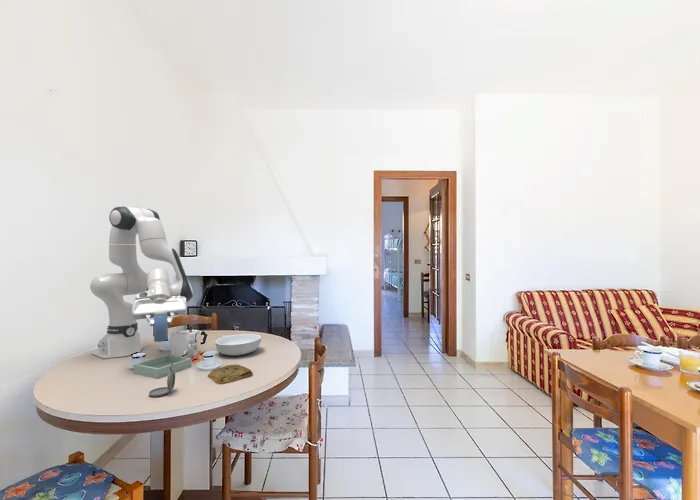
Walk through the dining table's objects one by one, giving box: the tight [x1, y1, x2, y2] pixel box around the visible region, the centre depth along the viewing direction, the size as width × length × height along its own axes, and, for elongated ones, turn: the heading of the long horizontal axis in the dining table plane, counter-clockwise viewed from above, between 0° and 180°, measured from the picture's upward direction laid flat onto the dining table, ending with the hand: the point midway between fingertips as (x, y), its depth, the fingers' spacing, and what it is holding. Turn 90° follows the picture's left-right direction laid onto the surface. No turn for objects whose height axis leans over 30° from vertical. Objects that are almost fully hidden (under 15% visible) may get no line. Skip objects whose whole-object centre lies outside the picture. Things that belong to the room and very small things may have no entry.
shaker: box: [153, 310, 169, 343], centre depth 141 cm, size 5×5×12 cm
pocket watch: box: [148, 363, 176, 398], centre depth 118 cm, size 8×8×10 cm
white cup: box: [168, 331, 189, 357], centre depth 163 cm, size 8×8×10 cm
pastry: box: [207, 364, 253, 385], centre depth 134 cm, size 17×17×3 cm
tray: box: [133, 353, 193, 379], centre depth 142 cm, size 15×15×4 cm
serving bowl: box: [214, 333, 262, 357], centre depth 165 cm, size 21×21×7 cm
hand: (160, 324), depth 141 cm, fingers closed on shaker, 5 cm apart
